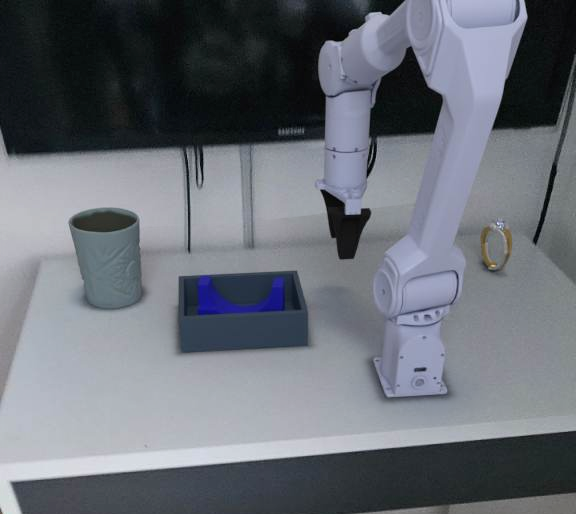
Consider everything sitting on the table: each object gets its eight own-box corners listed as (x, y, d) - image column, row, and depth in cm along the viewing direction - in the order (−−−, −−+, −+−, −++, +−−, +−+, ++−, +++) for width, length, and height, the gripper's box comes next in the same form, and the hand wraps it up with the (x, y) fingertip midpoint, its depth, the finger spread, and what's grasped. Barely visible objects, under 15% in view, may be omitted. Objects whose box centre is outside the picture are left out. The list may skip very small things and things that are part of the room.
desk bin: (307, 345, 107) (308, 312, 103) (181, 352, 106) (178, 318, 102) (296, 302, 117) (297, 270, 114) (182, 307, 116) (178, 275, 112)
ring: (472, 262, 128) (480, 214, 122) (490, 259, 128) (498, 211, 123) (492, 279, 123) (501, 229, 117) (510, 276, 123) (519, 227, 118)
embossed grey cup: (79, 287, 121) (64, 211, 113) (142, 278, 124) (132, 203, 116) (87, 315, 114) (72, 236, 106) (154, 305, 116) (144, 227, 108)
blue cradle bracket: (199, 328, 109) (195, 289, 105) (204, 314, 113) (200, 275, 109) (282, 331, 109) (281, 292, 105) (284, 316, 112) (284, 278, 108)
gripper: (309, 131, 105) (308, 229, 114) (323, 164, 94) (321, 269, 103) (359, 129, 106) (354, 227, 115) (379, 162, 95) (372, 267, 104)
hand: (342, 247), depth 109 cm, fingers open, 7 cm apart
